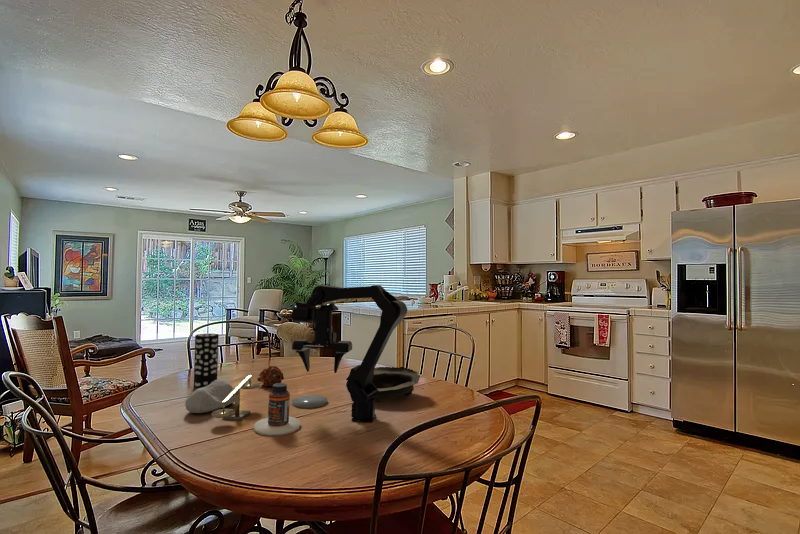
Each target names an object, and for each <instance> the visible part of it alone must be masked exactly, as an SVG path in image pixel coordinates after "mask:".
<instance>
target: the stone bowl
mask: <svg viewBox="0 0 800 534" xmlns="http://www.w3.org/2000/svg"><path fill="white" fill-rule="evenodd" d="M420 377H421V374H419V373H418V372H417V371H415V370H413V369H411V368H410V367H409V368H407V367H404V366H400V367H394V366H392V367H391V366H378V367H375V368H374V375H373V380H372V383H373V384H374V385H375V387H376V388H377V389H378V392H377V395H376V396H374V397H373V398H375V402H376V401H379V400H381V401H382V400H389V399H393V398H396V397H400V396H406V397H408V396H412V394H413V391H414V386H415V385H417V384H418V383H419V380H420Z"/></svg>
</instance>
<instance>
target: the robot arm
mask: <svg viewBox="0 0 800 534" xmlns="http://www.w3.org/2000/svg"><path fill="white" fill-rule="evenodd" d="M370 298H371V299H372V300H373V301H374V302H375V305H376V306H377V307H378V308H379V309H380V311H381V315H380V319H379V326H378V329H377V330H376V332H375V335H374V336H373V340H372V341H371V343H370V345H369V346H368V349H367V350H366V353H365V355H364V357H363V359H362V361H361V363H360V364H359V365H357V366H354V367H352V368H351V369H350V372H349V374H348V376H347V377H346V378H345V380H346V385H345V386H346V390H347V391H348V393H349V396H350V399H351V402H352V403H351V415H350V416H351V421H352V422H365V423H373V422H374V420H375V418H376V417H377V414H376V412H375V411H376V401H375V398H373V397H374V396H376V395H377V392H378V389H377V388H376V387H375V385H374V384H373V383H372V380H373V375H374V368H376V365H377V364H378V362H379V360H380V358H381V356H382V353H383V352H384V350H385V348H386V346H387V344H388V342H389V339H390V338H391V336H392V333H393V332H394V330H395V329H396V327H398V326H399V324H401V322H402V321H403V319H404V318H405V316H406V315H407V313H408V307H407V305H406V303H405V302H403V301H401V300H398V299H397V298H396V297H395V296H394V295H393V294H391V293H390V292H389V291H387V290H386V289H385V288H384V287H383V286H382V285H381V284H380V285H379V284H375V285H374V284H373V285H369V286H368V285H367V286H352V287H351V286H350V287H349V286H348V287H340V286H335V285H327V284H326V285H317V286H314V288H313V289H312V292H311V295H310V296H309V298H308V299H307V301H305V302H304V301H296V302H295V305H294V307H293V308H292V311H291V319H292V322H294V323H302V324H305V323H306V324H312V323H313V328H312V331H313V340H312V341H310V339H309V338H298V339H296V340H293V341H292V344H291V350H293V351H295V353H297V354H298V355H299V357H300V358H301V360H302V362H303V365H304V368H305V370H306V372H307V373H308V372H310V367H311V366H310V365H311V364H310V352H311V349H312V348H313V349H326V350H327V349H329V350H331V349H332V350H335V351H336V352H335V353H334V365H333V372H334V374H336V373H337V371H338V369H339V366H340V363H341V361H342V359H343V357H344V355H346V354H347V353H349V352H350V351H353V343H352V341H351V340H339V341H338V342H336V341H337V332H336V331H334V328H333V327H334V326H333V312H335V311H339V307H338V306H337V305H336V304H335V302H338V301H341V300H346V299H347V300H349V299H352V300H353V299H370ZM317 306H319V307H317Z"/></svg>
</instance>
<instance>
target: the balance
mask: <svg viewBox="0 0 800 534" xmlns="http://www.w3.org/2000/svg"><path fill="white" fill-rule="evenodd" d="M252 377H253V376H252V375H251V374H250V375H248V376H246V377H245V379H243V380H242V381H241V382H240V383H239V384H238V386H236V387H235V388H233V389H234V390H233V391H232V392H231V393H230V394H229V395H228V396H227V397H226V398H225V399H224V400H223V401H222V404H223V407H222V409H221V408H219V409H216V410H213V411H211V417H212V418H214V419H222V420H226V421H227V420H231V421H240V422H241V421H242V420H244V419H246V418H247V417H249V416H251V414H252V411H251V410H242V409H240V407H241V405H240V403H241V402H240V401H241V389H243V390H255V389H258V388H260V387H261V383H260V382H258V381H257V382H256V381H254V382H253V381H252V379H253V378H252ZM234 395H235V402H234V409H232V408H226V406H225V405H226V404H227V403H228V401H229V400H230V399H231V398H232V397H233V396H234Z"/></svg>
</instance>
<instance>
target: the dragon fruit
mask: <svg viewBox="0 0 800 534" xmlns="http://www.w3.org/2000/svg"><path fill="white" fill-rule="evenodd" d="M284 379H285V377H284V374H283V372H282V371H281V369H280V368H279V367H278V366H277V365H276V366H275V365H269V366H268V367H267V368H264V369H262V370H261V372H260V373H259V375H258V377H257V382H258V383H260V382H261V383H263V386H264V387H267V388H268V387H271V388H273V384H276V383H282V381H283V380H284Z"/></svg>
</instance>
